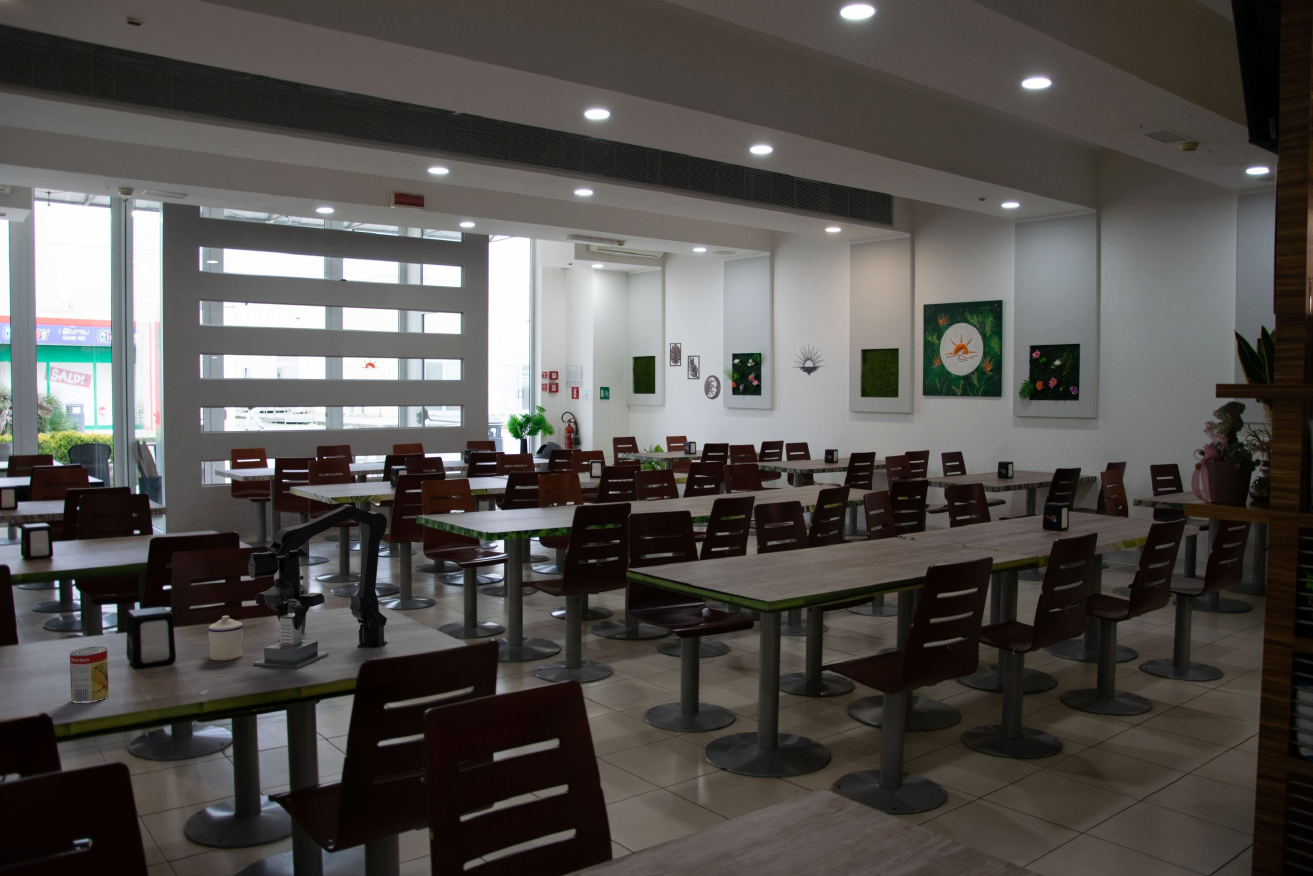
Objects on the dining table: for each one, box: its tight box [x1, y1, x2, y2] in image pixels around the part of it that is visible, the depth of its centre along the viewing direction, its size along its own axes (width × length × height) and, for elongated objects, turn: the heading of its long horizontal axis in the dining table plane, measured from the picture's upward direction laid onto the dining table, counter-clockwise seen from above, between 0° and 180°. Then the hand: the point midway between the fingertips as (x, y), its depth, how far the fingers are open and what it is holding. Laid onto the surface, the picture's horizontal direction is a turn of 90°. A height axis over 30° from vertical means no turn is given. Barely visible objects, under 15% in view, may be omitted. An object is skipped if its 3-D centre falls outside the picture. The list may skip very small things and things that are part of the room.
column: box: [279, 613, 303, 647], centre depth 263 cm, size 4×4×9 cm
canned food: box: [69, 645, 110, 702], centre depth 230 cm, size 8×8×12 cm
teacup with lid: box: [207, 615, 244, 661], centre depth 268 cm, size 12×9×12 cm
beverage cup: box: [288, 583, 309, 634], centre depth 295 cm, size 7×7×20 cm
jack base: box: [252, 639, 329, 670], centre depth 263 cm, size 14×14×5 cm
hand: (290, 629), depth 263 cm, fingers closed on column, 4 cm apart
